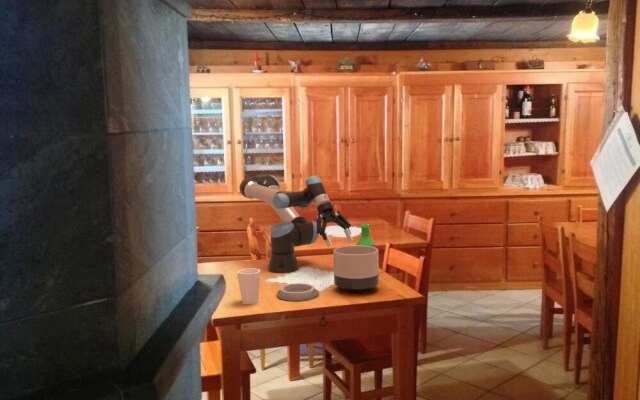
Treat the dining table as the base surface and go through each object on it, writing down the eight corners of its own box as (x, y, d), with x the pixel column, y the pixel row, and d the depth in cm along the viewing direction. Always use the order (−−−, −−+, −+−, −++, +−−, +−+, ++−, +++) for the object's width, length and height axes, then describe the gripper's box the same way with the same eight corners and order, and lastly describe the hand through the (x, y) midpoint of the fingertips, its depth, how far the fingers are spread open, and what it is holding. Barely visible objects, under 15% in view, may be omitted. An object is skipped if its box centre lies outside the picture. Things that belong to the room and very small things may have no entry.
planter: (384, 294, 226) (384, 252, 224) (340, 298, 222) (339, 256, 220) (371, 282, 245) (370, 244, 243) (329, 285, 241) (328, 246, 239)
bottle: (374, 278, 251) (373, 225, 248) (355, 278, 252) (354, 225, 249) (376, 273, 259) (375, 222, 256) (358, 273, 261) (357, 222, 258)
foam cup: (266, 301, 220) (265, 270, 218) (248, 307, 213) (247, 275, 212) (251, 297, 226) (250, 267, 225) (233, 302, 220) (232, 271, 218)
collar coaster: (268, 294, 229) (267, 288, 229) (301, 286, 241) (301, 279, 240) (293, 304, 215) (293, 297, 215) (327, 294, 227) (327, 288, 227)
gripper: (307, 204, 253) (324, 244, 247) (346, 198, 269) (363, 236, 262) (299, 211, 259) (316, 251, 252) (338, 205, 274) (355, 242, 267)
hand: (340, 243), depth 257 cm, fingers open, 13 cm apart
